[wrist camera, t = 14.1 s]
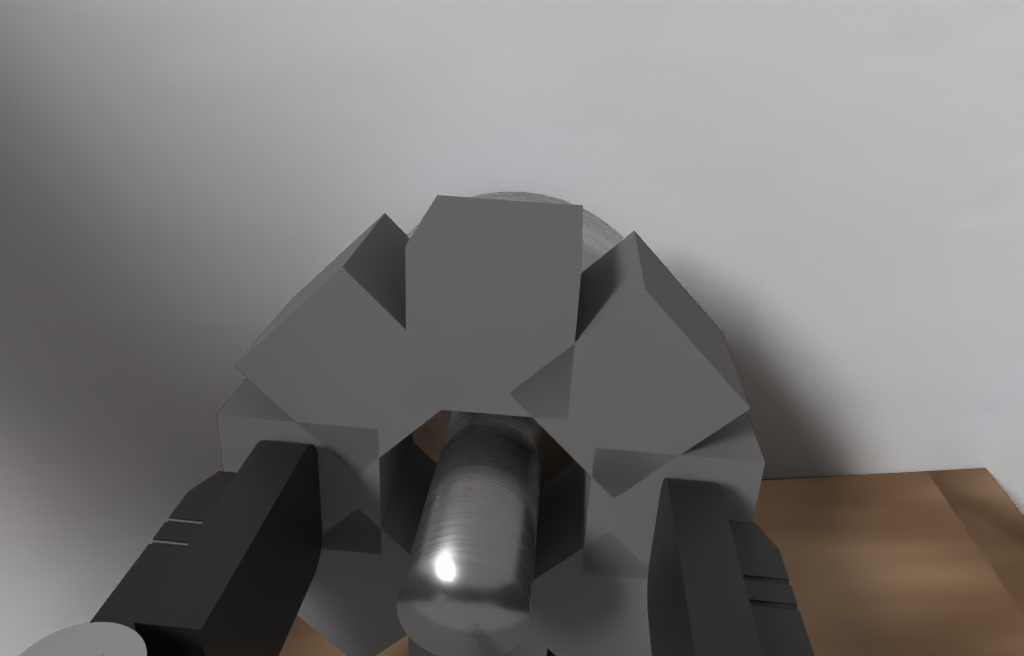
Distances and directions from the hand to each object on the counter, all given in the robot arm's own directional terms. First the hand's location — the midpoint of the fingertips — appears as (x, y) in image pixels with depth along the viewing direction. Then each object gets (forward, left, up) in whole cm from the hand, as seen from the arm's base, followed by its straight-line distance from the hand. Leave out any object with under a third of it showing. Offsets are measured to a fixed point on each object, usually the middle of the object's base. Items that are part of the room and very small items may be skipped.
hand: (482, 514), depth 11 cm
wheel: (0, 0, -2) cm, 2 cm away
